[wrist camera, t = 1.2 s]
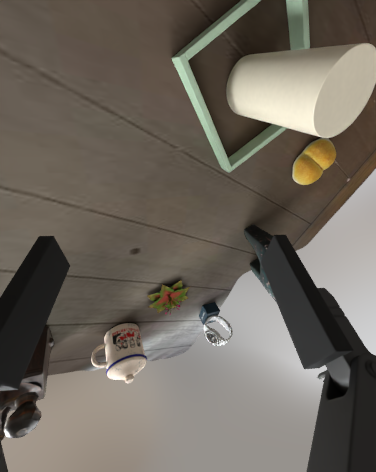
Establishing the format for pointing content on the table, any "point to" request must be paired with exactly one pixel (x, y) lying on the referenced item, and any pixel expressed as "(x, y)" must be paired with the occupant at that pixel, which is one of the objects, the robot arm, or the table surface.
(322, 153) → the bread roll
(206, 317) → the watch
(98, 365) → the teacup with lid
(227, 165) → the green square frame
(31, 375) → the manual coffee grinder
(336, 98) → the pillar candle
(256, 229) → the ceramic cat
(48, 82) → the table surface
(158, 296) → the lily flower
